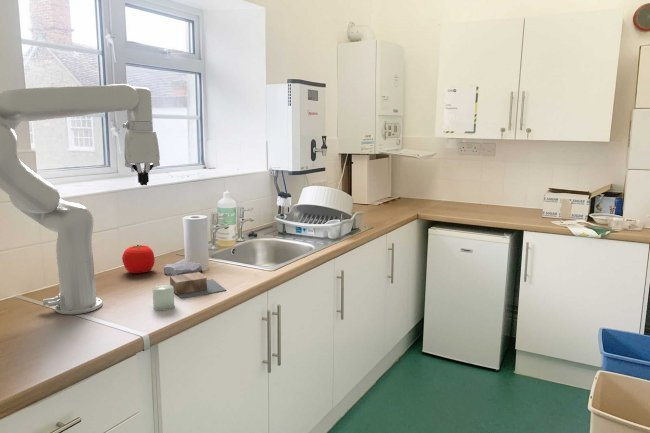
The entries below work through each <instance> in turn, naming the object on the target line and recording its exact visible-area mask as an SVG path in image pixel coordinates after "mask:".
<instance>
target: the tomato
mask: <svg viewBox="0 0 650 433" xmlns="http://www.w3.org/2000/svg"><path fill="white" fill-rule="evenodd" d="M155 258H156V257H155V254H154V250H153V249H152V248H151V247H150V246H149V245H145V244H142V245H141V244H136V245H131V246H129V247H127V248H126V249H125V250H124V251H123V253H122V257H121V260H122V263H123V267H124V268H125V270H126V271H128V272H129V273H131V274H144V273H146V272H150V270H152V269H153V268H154V265H155V263H156V262H155Z"/></svg>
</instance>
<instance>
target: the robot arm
mask: <svg viewBox="0 0 650 433" xmlns="http://www.w3.org/2000/svg"><path fill="white" fill-rule="evenodd" d="M152 106H153V104H152V92H151V89H149V88H148V87H139V86H131V85H129V84H127V83H121V84H107V85H106V84H105V85H104V84H103V85H63V86H62V85H61V86H47V87H45V86H44V87H31V88H29V87H28V88H16V89H7V90H5V91H1V93H0V190H1V191H3V192H5V193H6V194H7V195H8V197H9V200H10V202H11V203H12V205H13V207H15V208H16V209H18V210H19V211H20V212H21V213H23V214H25V215H26V216H27V217H29V218H31V219H32V220H34V221H35V222H37V223H38V224H40V225H41V226H42V227H44V228H46V229H48V230H49V231H52V232H55V233H57V238H56V247H55V251H56V252H55V253H56V262H57V263H56V264H57V272H58V283H59V292H58V295H56V296H54V297H51V298H50V297H49V298H43V299H42V304H43V306H48V307H53V306H55V312H57V313H58V314H61V315H80V314H84V313H85V314H86V313H89V312H90V313H91V312H93V311H96V310H98V309H99V308H101V307H102V306H103V300H102V299H101V298H99V297H97V291H96V279H95V276H96V275H95V267H94V264H95V263H94V253H93V232H94V217H93V214H92V212H91V211H90V210H89V208H87V207H86V206H84V205H83V204H80V203H76V202H70V201H66V200H64V199H62V198H61V195H60V192H59V190H58V189H57V188H56V187H55V186H54V185H53V184H52V183H50V182H49V181H47V180H45V179H44V178H42V176H40V175H38V174H37V173H36V172H34V171H33V170H32V169H31V168H29V167H28V166H27V165H26V164H24V163H23V162H22V160H21V159H20V157H19V156H18V137H17V135H16V133H15V130H16V128H17V127H18V126H19V124H20V123H21V122H35V121H43V120H52V119H63V118H72V117H73V118H75V117H83V116H89V115H94V114H103V113H110V112H111V113H112V112H122V111H123V112H124V111H126V123H122V128H124V129H126V130H127V131H125V136H124V167H126V168H131V169H133V170H134V171H135V172H136V173H137V182H138V183H139V184H140V186H148V183H149V182H150V180H149V173H150V171H151V170H152V169H153V168H156V167H159V166H161V164H160V158H161V157H160V149H159V142H158V141H159V140H158V136H157V132H156V131H154V128H153V127H154V126H153V125H154V124H153V122H154V121H153V108H152ZM141 164H144V165H143V170H142V165H141Z"/></svg>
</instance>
